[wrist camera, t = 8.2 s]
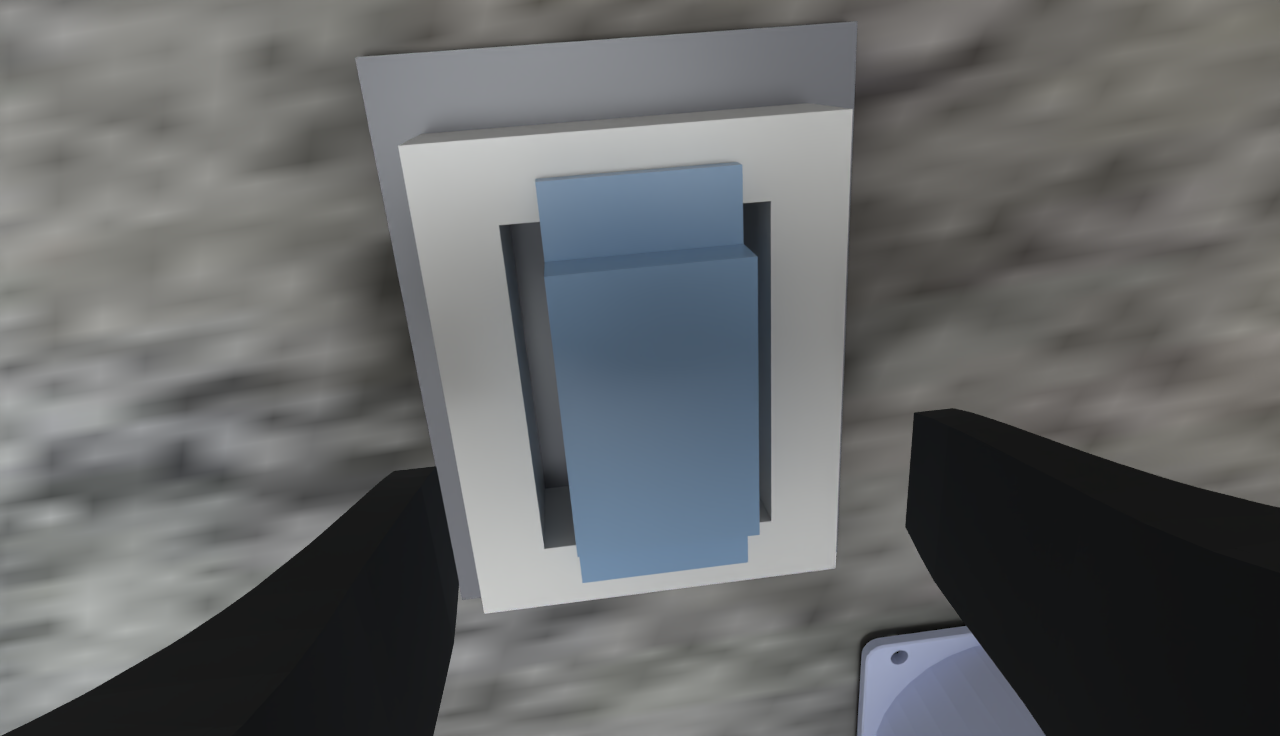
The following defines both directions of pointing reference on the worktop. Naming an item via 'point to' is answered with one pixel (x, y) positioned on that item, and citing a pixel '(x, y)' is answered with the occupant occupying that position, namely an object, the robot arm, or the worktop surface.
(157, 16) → the worktop surface
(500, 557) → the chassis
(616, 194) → the block
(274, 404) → the worktop surface
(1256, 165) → the worktop surface
